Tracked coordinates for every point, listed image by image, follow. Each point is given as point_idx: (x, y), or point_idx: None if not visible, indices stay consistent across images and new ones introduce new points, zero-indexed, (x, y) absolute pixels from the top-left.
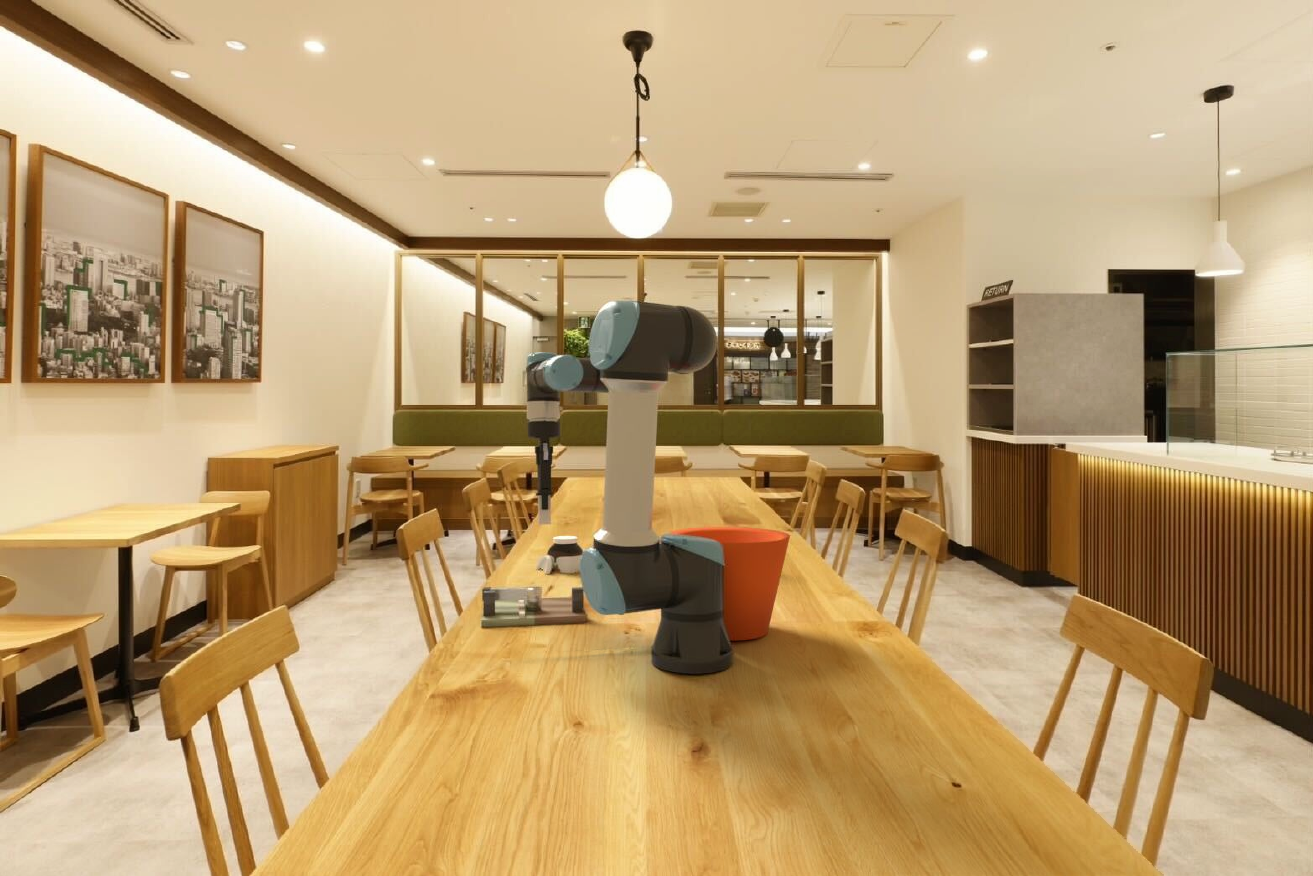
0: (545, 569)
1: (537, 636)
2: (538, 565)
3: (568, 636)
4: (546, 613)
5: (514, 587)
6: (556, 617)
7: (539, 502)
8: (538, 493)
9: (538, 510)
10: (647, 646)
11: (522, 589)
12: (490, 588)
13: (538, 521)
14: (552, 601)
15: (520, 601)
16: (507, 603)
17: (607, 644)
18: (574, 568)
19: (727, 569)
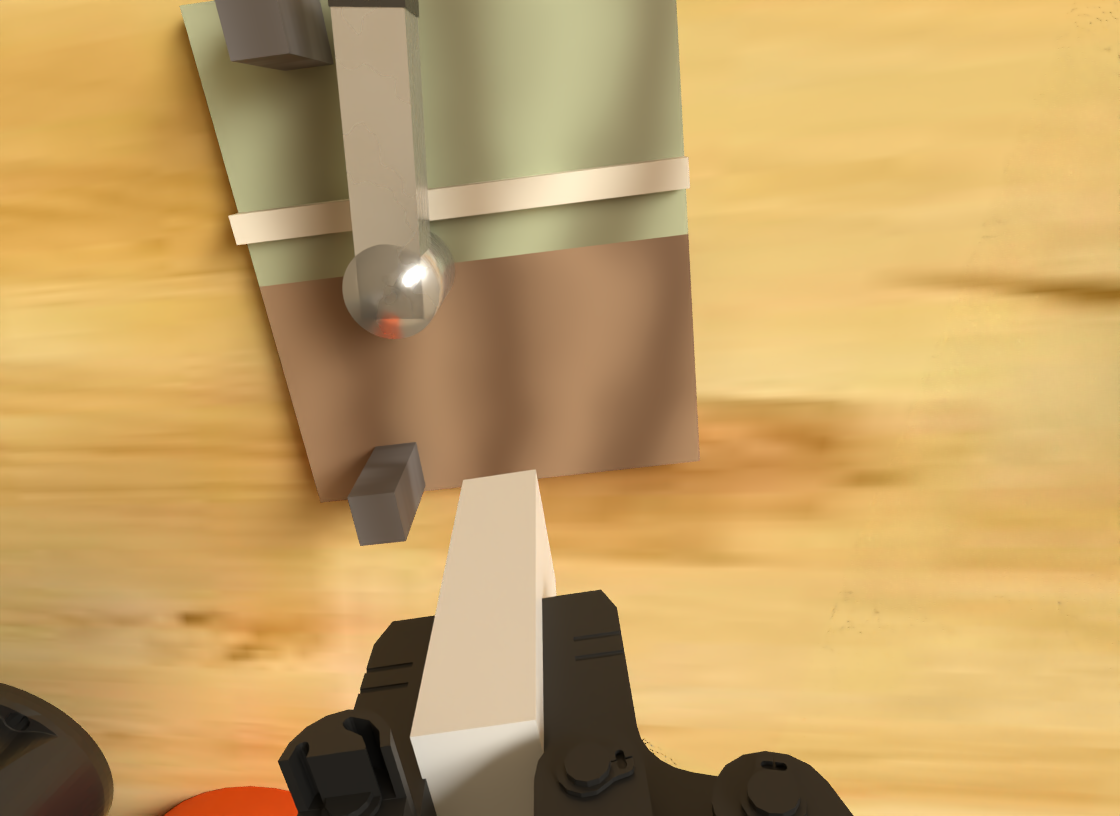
0: None
1: (83, 309)
2: None
3: (106, 429)
4: (345, 335)
5: (401, 172)
6: (287, 383)
7: (429, 660)
8: (295, 790)
9: (479, 565)
10: (31, 669)
11: (353, 229)
12: (362, 6)
13: (508, 487)
14: (604, 345)
15: (509, 190)
16: (574, 104)
17: (26, 560)
18: None
19: None
